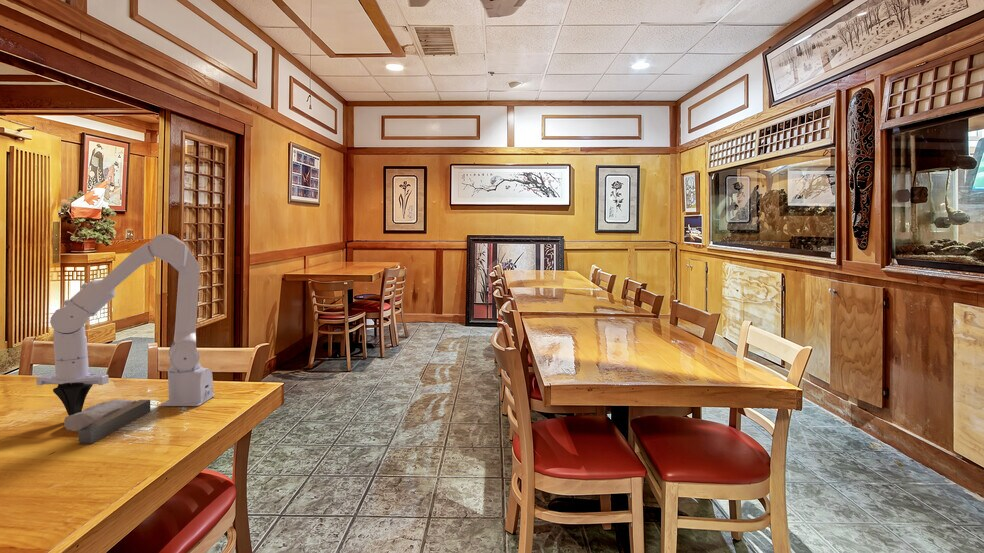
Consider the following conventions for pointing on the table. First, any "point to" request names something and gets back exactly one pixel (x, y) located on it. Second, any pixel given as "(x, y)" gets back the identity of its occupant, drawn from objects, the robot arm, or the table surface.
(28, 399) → the table surface
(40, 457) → the table surface
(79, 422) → the stone block
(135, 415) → the bar
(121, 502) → the table surface
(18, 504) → the table surface
